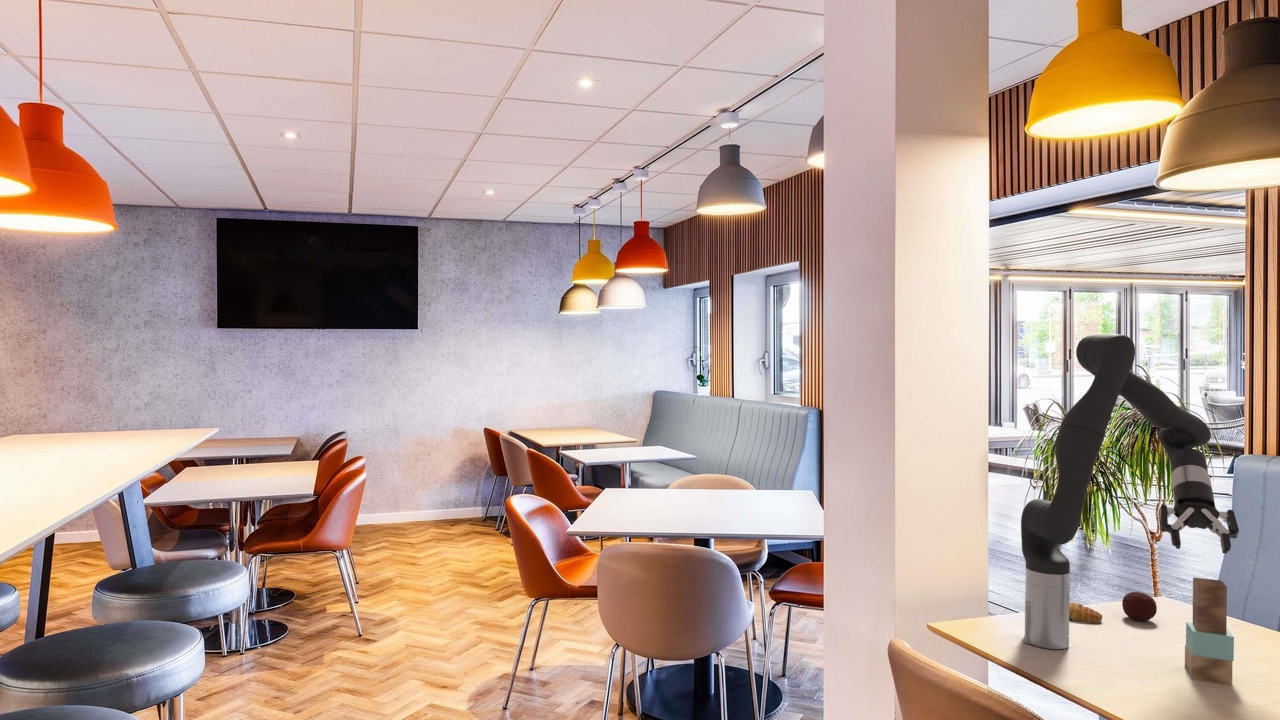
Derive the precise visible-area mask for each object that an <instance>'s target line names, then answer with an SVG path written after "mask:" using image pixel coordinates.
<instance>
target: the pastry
mask: <svg viewBox="0 0 1280 720" xmlns="http://www.w3.org/2000/svg"><path fill="white" fill-rule="evenodd" d="M1084 606H1085V605H1083V604H1082V603H1075V602H1069V620H1072V621H1075V622H1081V623H1087V624H1088V623H1089V624H1094V623H1095V624H1100V623H1101V622H1102V621H1103V615H1102V614H1101V613H1100V612H1099V611H1096V610H1094V609H1092V608H1091V607H1089V606H1086V607H1084Z"/></svg>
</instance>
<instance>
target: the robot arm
mask: <svg viewBox="0 0 1280 720" xmlns="http://www.w3.org/2000/svg"><path fill="white" fill-rule="evenodd" d="M1075 354H1076V356H1075V357H1076V359H1077V362H1078V363H1079V364H1080V366H1081V367H1082V368H1084V370H1085V371H1087V372H1088V373H1090V374H1091V375H1093V376H1094V378H1093V381H1092V383H1091V384H1090V387H1089V388H1088V389H1087V391H1086V392H1085V393H1084V394H1083V396H1082V397H1081V398H1079V400H1078V401H1077V402H1076V403H1075V404H1074V405H1072V406H1071V407H1070V409H1069V410H1068V411H1067V413H1066V414H1065V415H1064V417H1063V419H1062V421H1061V424H1060V426H1059V429H1058V432H1057V435H1056V439H1055V442H1054V455H1055V461H1056V467H1057V471H1058V473H1057V474H1058V476H1057V477H1058V478H1057V485H1056V488H1055V492H1054V495H1053V498H1052V500H1046V499H1043V498H1042V499H1041V498H1037V499H1031V500H1030V501H1028V503H1026V505H1025V506H1024V508H1023V510H1022V513H1021V517H1020V530H1021V531H1020V533H1021V534H1020V536H1021V537H1020V538H1021V551H1022V555H1023V558H1024V560H1025V589H1024V590H1025V593H1024V643H1025V644H1030V645H1032V646H1036V647H1039V648H1042V649H1049V650H1064V649H1068V648H1069V645H1070V618H1069V603H1070V598H1071V597H1070V596H1071V595H1070V594H1071V593H1070V591H1071V590H1070V585H1071V580H1070V579H1071V575H1070V574H1071V573H1070V572H1071V571H1070V570H1071V563H1070V561H1069V558H1067V556H1066V555H1065V554H1064V553H1063V552H1062V550H1061V549H1060V547H1059V545H1066V544H1067V543H1069V542H1071V541H1072V540H1073V538H1074V537H1075V536H1076V534H1077V532H1078V529H1079V526H1080V523H1081V518H1082V514H1083V508H1084V505H1085V499H1086V495H1087V490H1088V486H1089V484H1090V480H1091V477H1092V474H1093V471H1094V468H1095V464H1096V460H1097V459H1098V456H1099V454H1100V451H1101V448H1102V444H1103V442H1104V438H1105V437H1106V436H1105V434H1106V432H1107V429H1108V425H1109V423H1110V422H1109V421H1110V419H1111V416H1112V415H1113V411H1114V408H1115V406H1116V403H1117V401H1118V398H1119V396H1121V397H1122V398H1124V400H1126V401H1127V402H1128V403H1129V404H1130V405H1132V406H1133V407H1134V408H1135V410H1137V412H1139V413H1140V414H1141V416H1142V417H1144V419H1145V420H1147V422H1149V423H1150V424H1151V426H1153V427H1155V428H1157V429H1160V430H1159V431H1158V436H1157V437H1158V441H1159V443H1160V445H1161V446H1162V448H1163V450H1164V451H1165V453H1166V454H1167V457H1168V460H1169V462H1170V468H1171V475H1172V476H1171V485H1172V486H1171V487H1172V492H1173V499H1174V507H1169V506H1167V505H1166V504H1161V506H1160V509H1159V530H1160V531H1161V532H1162V533H1169V534H1170V539H1171V545H1172V546H1174V547H1175V549H1177V550H1180V549H1181V546H1182V545H1181V535H1180V531H1182V530H1183V529H1184V528H1185V527H1186V526H1187V527H1188V528H1189V529H1194V528H1196V529H1202V530H1206V529H1208V530H1209V531H1210V532H1211V533H1212V534H1215V535H1217V537H1218V538H1219V540H1220V541H1219V542H1220V547H1221V552H1222V554H1228V552H1230V550H1231V548H1232V543H1231V538H1232V539H1237V538H1238V535H1239V532H1240V528H1239V526H1238V525H1239V524H1238V522H1237V518H1236V515H1235V511H1234V510H1233V509H1228V510H1227V511H1219V510H1218V509H1217V507H1216V503H1215V496H1214V492H1213V486H1212V480H1211V478H1210V475H1209V471H1208V470H1209V469H1208V465H1207V460H1206V456H1205V455H1204V453H1203V452H1202V451H1200V450H1199V449H1195V448H1198V447H1201V446H1205V445H1206V444H1208V443H1209V442H1210V440H1211V438H1212V434H1211V433H1212V432H1211V429H1210V427H1209V426H1208V424H1206V422H1204V421H1203V420H1202V418H1200V417H1199V416H1197V415H1195V414H1192V413H1191V412H1189V411H1187V410H1185V409H1183V408H1182V407H1180V406H1178V405H1177V404H1176V403H1175V402H1174V401H1173V400H1172V399H1171V398H1170V397H1169V396H1168V395H1167V394H1166V393H1165V392H1164V391H1163V390H1162V389H1161V388H1160V387H1158V386H1156V385H1154V384H1153V383H1152V382H1150V381H1147V380H1146V379H1144V378H1142V377H1141V376H1139V375H1137V374H1135V373H1134V372H1132V371H1131V370H1132V367H1133V365H1134V362H1135V357H1136V346H1135V343H1134V340H1132V338H1131V337H1130V336H1128V335H1125V334H1120V333H1119V334H1117V333H1116V334H1115V333H1114V334H1113V333H1111V334H1109V333H1108V334H1101V333H1100V334H1098V333H1097V334H1091V335H1086V336H1085V337H1083V338H1082V339H1081V340H1080V341H1079V342H1078V343H1077V346H1076V351H1075ZM1171 515H1174V516H1175V517H1176V518H1177V519H1176V521H1175V522H1173V523H1172V524H1170V523H1169V521H1168V519H1169V518H1170V517H1171ZM1219 519H1222V521H1223V522H1224V523H1226V525H1227V528H1226V527H1225V526H1224V525H1223V524H1222V522H1221V521H1220V520H1219Z"/></svg>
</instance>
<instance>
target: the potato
mask: <svg viewBox="0 0 1280 720" xmlns="http://www.w3.org/2000/svg"><path fill="white" fill-rule="evenodd" d="M1121 603H1122V604H1121V605H1122V610H1123V612H1124V614H1125V615H1126V616H1127V617H1129V618H1130V619H1133V620H1136V621H1140V622H1141V621H1143V622H1144V621H1145V622H1146V621H1150V620H1152V619H1153V618H1154V617H1155V616H1156V614H1157V612H1158V611H1157V610H1158V607H1157V606H1158V605H1157V602H1156V601H1155V599H1154V598H1153V597H1151V596H1150V595H1148V594H1146V593H1144V592H1141V591H1140V592H1139V591H1130V592H1128V593H1127V594H1125V595H1124V596H1123V598H1122V601H1121Z"/></svg>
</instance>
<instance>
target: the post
mask: <svg viewBox="0 0 1280 720" xmlns="http://www.w3.org/2000/svg"><path fill="white" fill-rule="evenodd" d="M1227 587H1228V586H1227V585H1226V584H1225V582H1223V580H1220V579H1210V578H1201V577H1195V576H1193V577H1192V622H1193V625H1194V627H1195V628H1196V630H1197V631H1201V632H1209V633H1216V634H1224V635H1226V629H1228V627H1227V620H1228V618H1227V611H1228V610H1227V609H1228V608H1227V607H1228V604H1227V603H1228V592H1227V591H1228V588H1227Z"/></svg>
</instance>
